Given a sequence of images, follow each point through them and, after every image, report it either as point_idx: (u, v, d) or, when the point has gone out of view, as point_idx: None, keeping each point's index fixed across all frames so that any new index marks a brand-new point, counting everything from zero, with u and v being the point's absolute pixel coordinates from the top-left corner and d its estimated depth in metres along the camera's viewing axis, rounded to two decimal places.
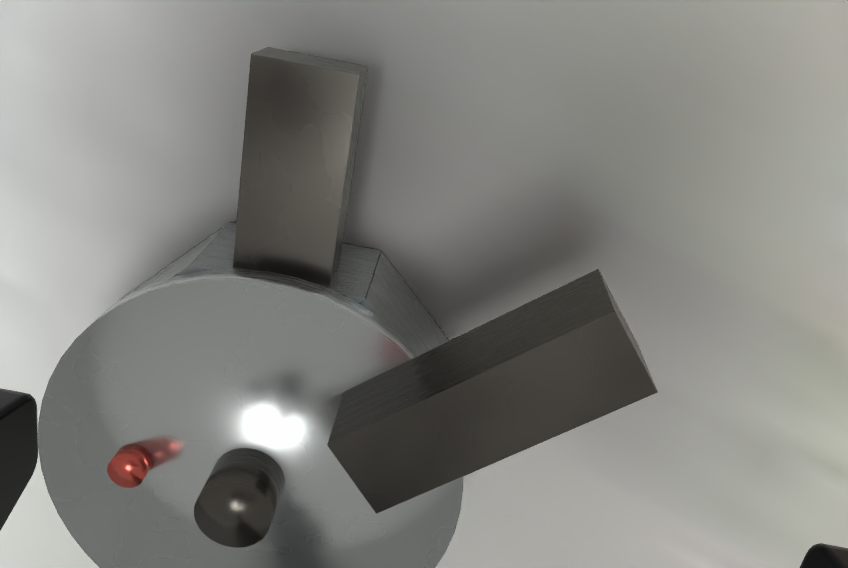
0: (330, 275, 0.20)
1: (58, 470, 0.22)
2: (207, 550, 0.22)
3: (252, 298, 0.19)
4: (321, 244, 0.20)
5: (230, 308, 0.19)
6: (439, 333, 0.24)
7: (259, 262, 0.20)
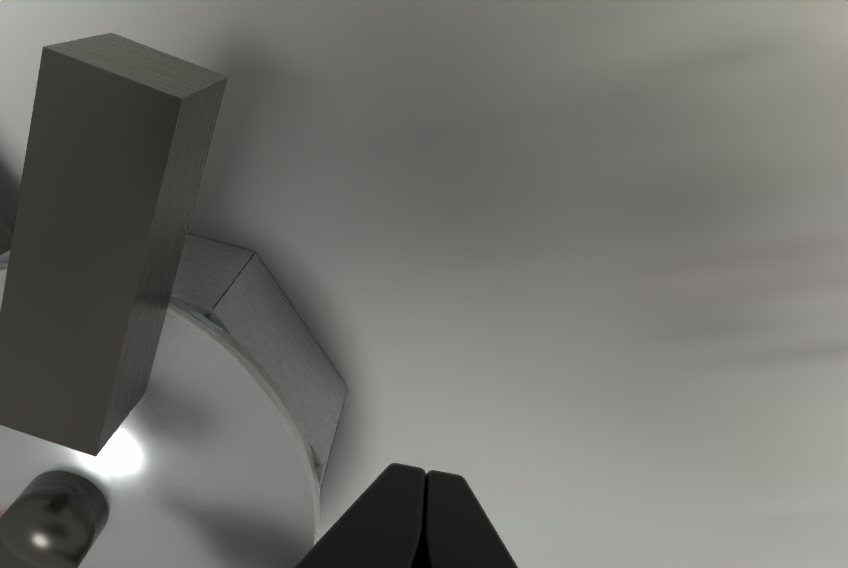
0: None
1: None
2: None
3: None
4: None
5: None
6: (195, 241, 0.20)
7: None
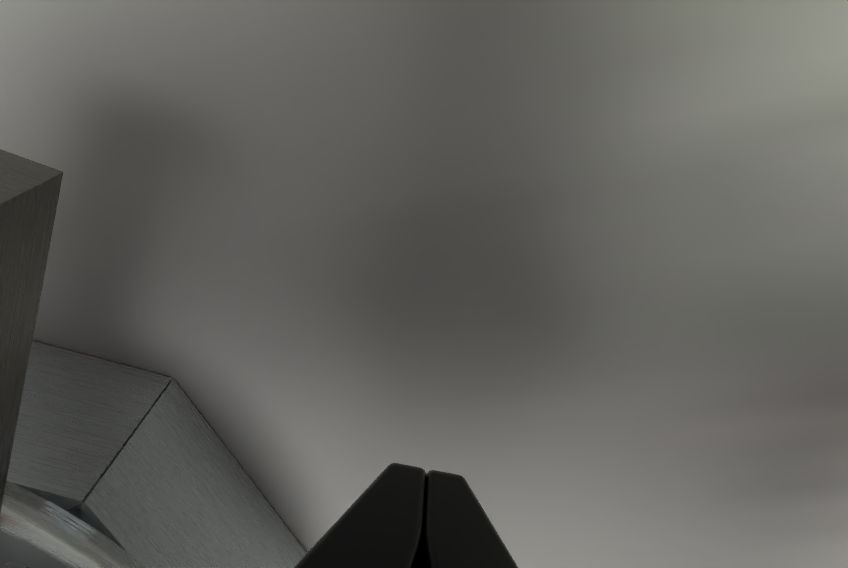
0: None
1: None
2: None
3: None
4: None
5: None
6: (85, 366, 0.14)
7: None
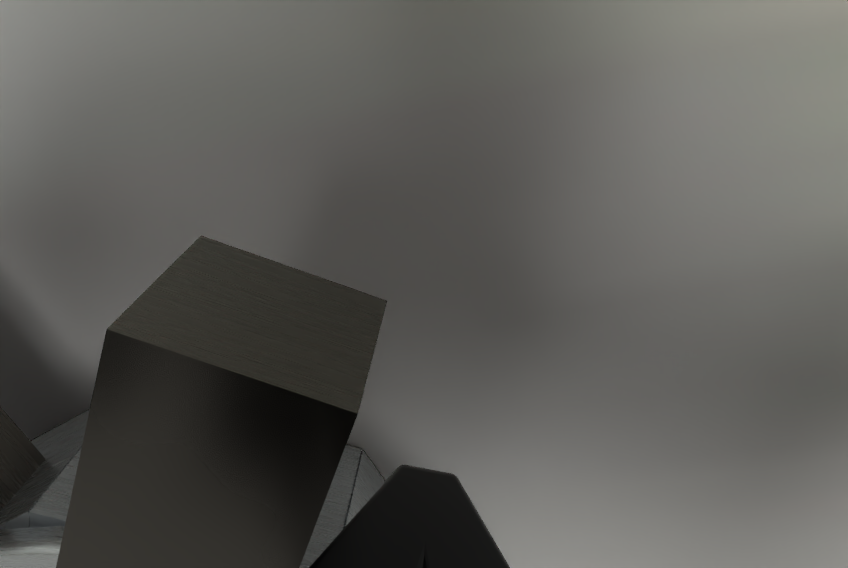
0: None
1: None
2: None
3: None
4: None
5: None
6: None
7: None
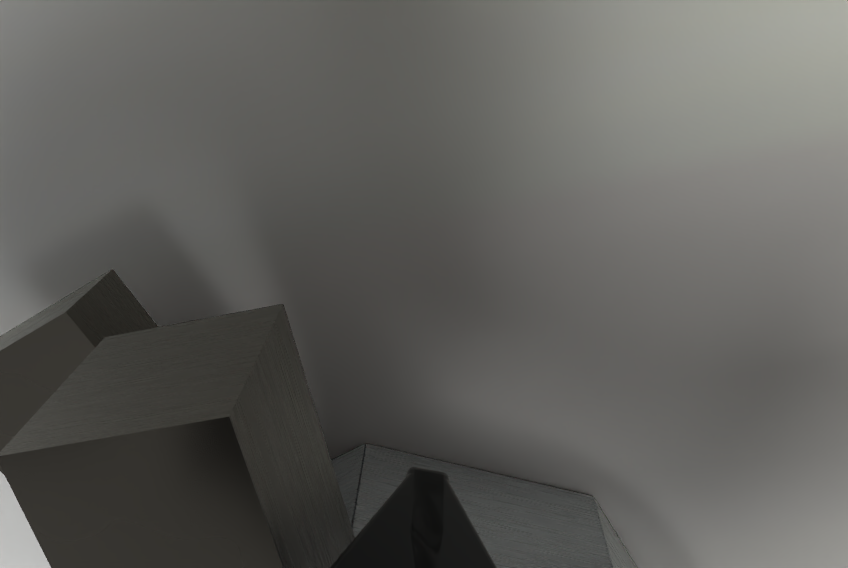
0: None
1: None
2: None
3: None
4: None
5: None
6: (521, 490, 0.15)
7: None
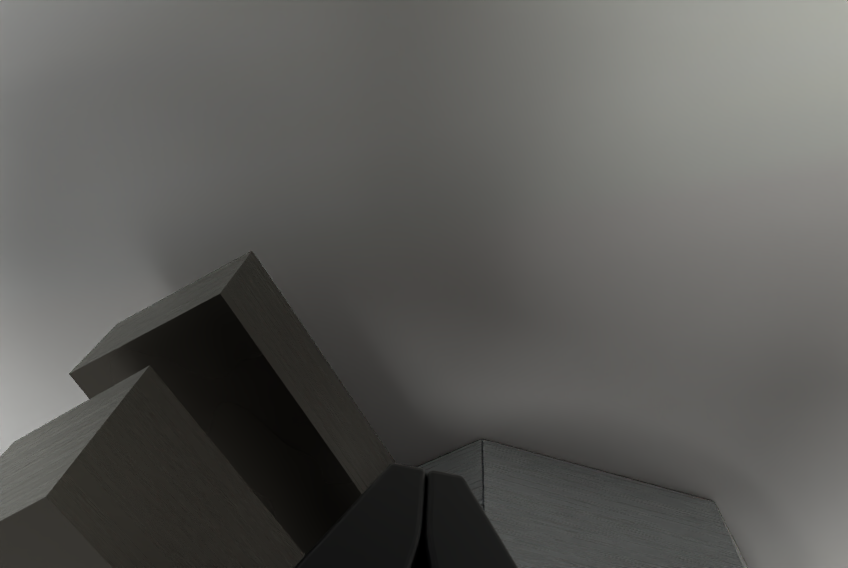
0: None
1: None
2: None
3: None
4: None
5: None
6: (643, 493, 0.14)
7: None
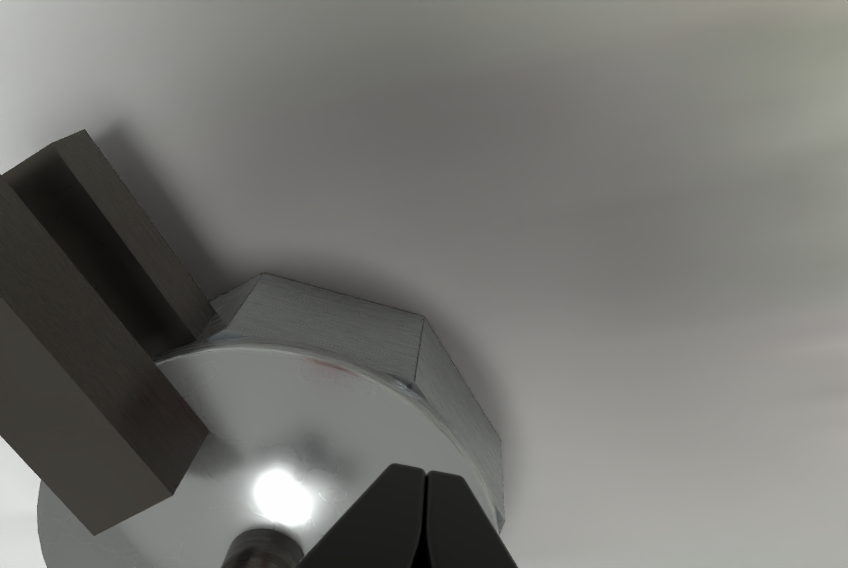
0: (189, 331, 0.19)
1: None
2: None
3: (55, 538, 0.20)
4: (158, 310, 0.19)
5: (70, 556, 0.20)
6: (370, 307, 0.21)
7: None
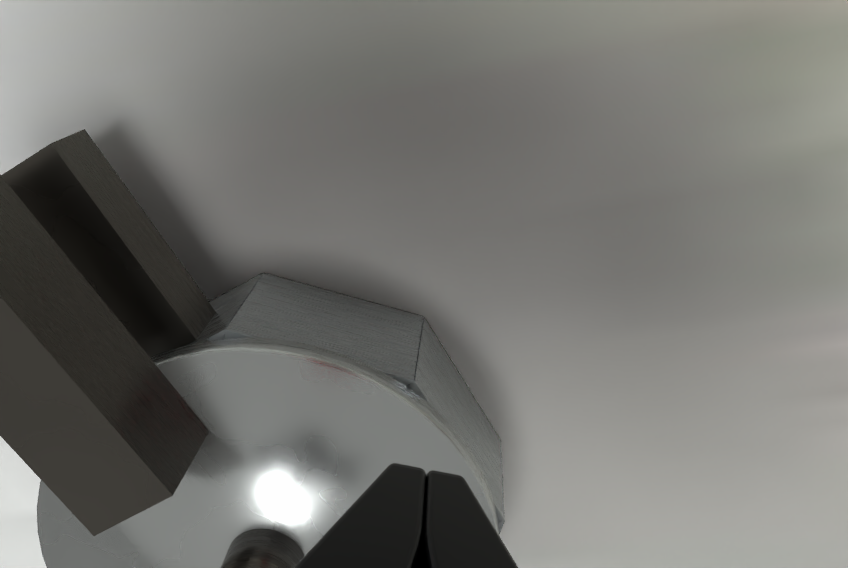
0: (189, 331, 0.19)
1: None
2: None
3: (55, 538, 0.20)
4: (158, 310, 0.19)
5: (70, 556, 0.20)
6: (370, 307, 0.21)
7: None
